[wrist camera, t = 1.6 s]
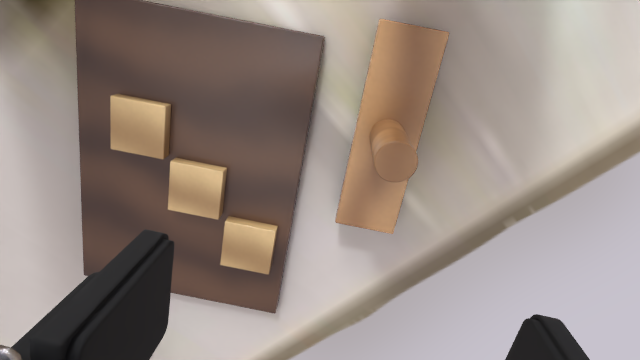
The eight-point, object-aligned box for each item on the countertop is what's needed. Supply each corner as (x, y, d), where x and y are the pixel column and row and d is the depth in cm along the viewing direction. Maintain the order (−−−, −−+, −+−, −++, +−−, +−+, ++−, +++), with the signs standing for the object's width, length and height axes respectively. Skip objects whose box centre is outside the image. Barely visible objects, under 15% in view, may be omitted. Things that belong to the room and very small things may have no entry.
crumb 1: (117, 93, 29) (109, 95, 28) (171, 103, 29) (165, 106, 28) (117, 145, 30) (110, 149, 29) (169, 155, 30) (163, 159, 29)
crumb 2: (175, 157, 30) (169, 161, 29) (227, 167, 30) (223, 171, 29) (172, 204, 32) (167, 209, 31) (222, 214, 32) (218, 220, 31)
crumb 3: (228, 215, 32) (224, 221, 31) (278, 225, 32) (275, 231, 31) (223, 258, 33) (220, 265, 32) (271, 268, 33) (268, 274, 32)
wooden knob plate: (336, 210, 32) (331, 265, 25) (378, 19, 27) (388, 14, 19) (390, 221, 32) (402, 279, 25) (442, 32, 27) (477, 32, 19)
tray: (83, -12, 28) (73, -13, 27) (325, 36, 28) (324, 36, 27) (90, 269, 36) (83, 275, 35) (277, 306, 36) (275, 314, 35)
